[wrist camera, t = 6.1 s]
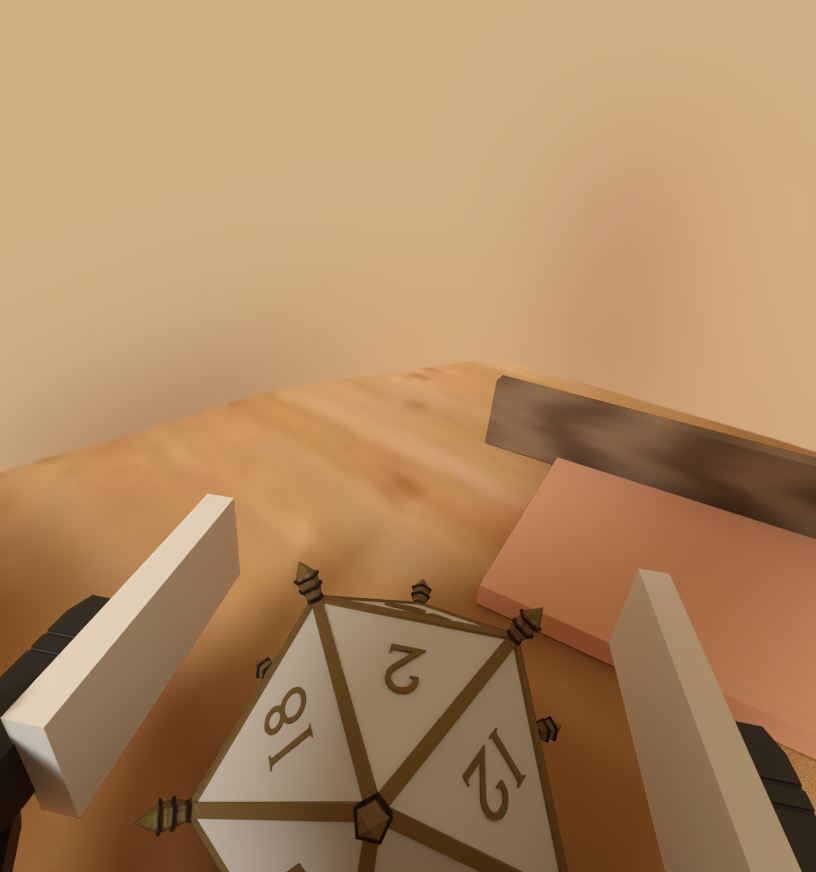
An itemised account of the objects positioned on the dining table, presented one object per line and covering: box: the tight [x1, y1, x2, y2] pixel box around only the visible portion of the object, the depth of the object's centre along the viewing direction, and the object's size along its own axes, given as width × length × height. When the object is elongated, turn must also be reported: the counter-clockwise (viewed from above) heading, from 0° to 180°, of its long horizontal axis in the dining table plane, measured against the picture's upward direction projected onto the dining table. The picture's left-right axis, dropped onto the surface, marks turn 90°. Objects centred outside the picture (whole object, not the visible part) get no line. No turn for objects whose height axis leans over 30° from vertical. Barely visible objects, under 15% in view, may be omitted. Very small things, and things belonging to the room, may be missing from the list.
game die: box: [134, 562, 568, 872], centre depth 11 cm, size 9×8×10 cm
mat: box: [476, 457, 816, 760], centre depth 23 cm, size 14×13×1 cm
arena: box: [485, 375, 816, 539], centre depth 22 cm, size 25×17×4 cm
